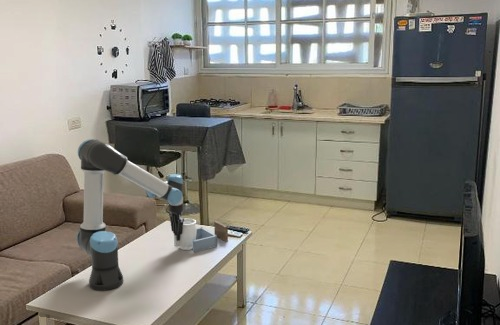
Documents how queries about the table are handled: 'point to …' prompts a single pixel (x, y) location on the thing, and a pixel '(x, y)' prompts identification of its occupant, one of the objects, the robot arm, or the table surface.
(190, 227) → the jar
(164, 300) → the table surface
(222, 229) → the block
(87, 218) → the robot arm
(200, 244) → the grey shallow box
